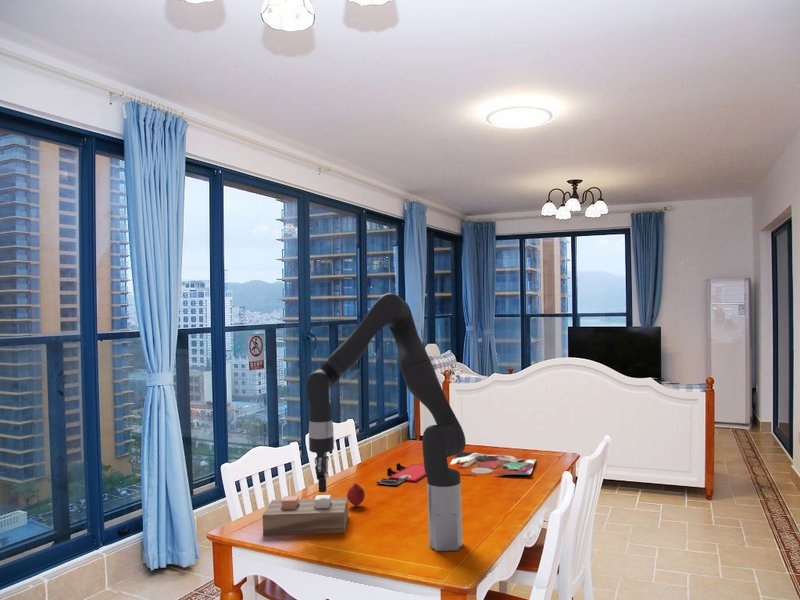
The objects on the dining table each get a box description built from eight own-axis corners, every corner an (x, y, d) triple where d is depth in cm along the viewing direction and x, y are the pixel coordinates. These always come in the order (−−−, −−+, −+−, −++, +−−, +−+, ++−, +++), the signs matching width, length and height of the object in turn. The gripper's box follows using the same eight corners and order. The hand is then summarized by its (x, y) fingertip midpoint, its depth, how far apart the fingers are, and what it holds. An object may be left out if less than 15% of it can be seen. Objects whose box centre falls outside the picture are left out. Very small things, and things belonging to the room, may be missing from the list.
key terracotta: (296, 513, 185) (296, 500, 185) (282, 514, 185) (281, 500, 185) (298, 508, 189) (298, 495, 189) (284, 509, 189) (284, 496, 189)
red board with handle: (371, 484, 230) (407, 489, 223) (371, 477, 230) (407, 481, 223) (404, 466, 257) (437, 470, 250) (404, 459, 257) (437, 463, 251)
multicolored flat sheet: (538, 458, 264) (537, 453, 264) (529, 480, 231) (529, 475, 231) (459, 454, 275) (459, 450, 275) (440, 475, 241) (440, 470, 241)
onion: (356, 502, 208) (355, 479, 208) (368, 505, 205) (367, 481, 205) (344, 507, 204) (343, 483, 204) (356, 510, 200) (355, 485, 200)
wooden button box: (344, 532, 180) (343, 512, 180) (263, 535, 180) (262, 514, 180) (348, 516, 194) (347, 497, 194) (272, 519, 194) (272, 500, 194)
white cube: (329, 512, 185) (329, 499, 185) (314, 512, 185) (314, 499, 185) (331, 507, 189) (330, 494, 190) (316, 508, 189) (316, 495, 190)
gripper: (331, 439, 181) (332, 497, 181) (335, 430, 194) (337, 485, 194) (305, 440, 181) (307, 498, 181) (312, 431, 194) (313, 485, 194)
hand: (322, 491), depth 188 cm, fingers closed
